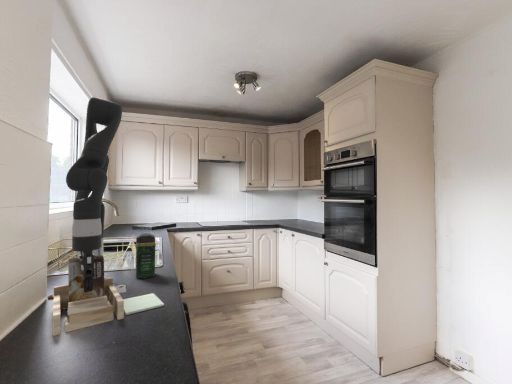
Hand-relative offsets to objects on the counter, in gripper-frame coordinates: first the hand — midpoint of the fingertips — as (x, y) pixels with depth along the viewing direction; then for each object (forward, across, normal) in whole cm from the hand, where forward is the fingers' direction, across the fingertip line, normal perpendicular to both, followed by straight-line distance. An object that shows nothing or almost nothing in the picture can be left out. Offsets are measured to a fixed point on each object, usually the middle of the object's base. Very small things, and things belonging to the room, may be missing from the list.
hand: (86, 287), depth 81 cm
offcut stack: (+7, -9, 0) cm, 12 cm away
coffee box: (+7, 0, 0) cm, 7 cm away
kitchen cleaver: (+8, +16, -2) cm, 18 cm away
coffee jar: (+7, +28, -24) cm, 38 cm away
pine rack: (+7, -2, 0) cm, 7 cm away
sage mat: (+7, -4, -14) cm, 17 cm away
